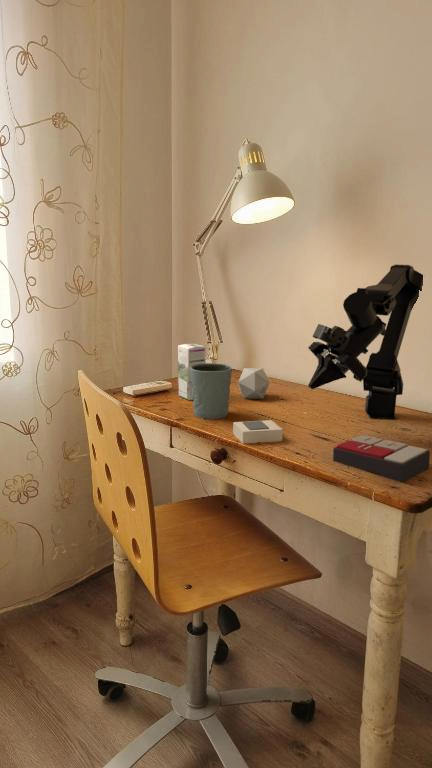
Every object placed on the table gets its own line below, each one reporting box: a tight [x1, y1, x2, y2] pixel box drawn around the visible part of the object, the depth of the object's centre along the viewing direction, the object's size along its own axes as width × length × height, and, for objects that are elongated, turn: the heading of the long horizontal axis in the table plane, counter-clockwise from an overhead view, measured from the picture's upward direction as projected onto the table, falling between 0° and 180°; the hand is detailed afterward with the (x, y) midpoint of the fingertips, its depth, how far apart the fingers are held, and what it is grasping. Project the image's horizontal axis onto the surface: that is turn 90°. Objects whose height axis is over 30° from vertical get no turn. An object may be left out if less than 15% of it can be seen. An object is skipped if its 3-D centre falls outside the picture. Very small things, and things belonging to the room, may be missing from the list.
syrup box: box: [177, 343, 206, 401], centre depth 158 cm, size 6×6×14 cm
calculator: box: [332, 434, 431, 483], centre depth 113 cm, size 11×4×15 cm
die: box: [237, 367, 271, 400], centre depth 160 cm, size 8×9×10 cm
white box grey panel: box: [232, 419, 283, 445], centre depth 127 cm, size 3×7×9 cm
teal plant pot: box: [190, 362, 233, 420], centre depth 143 cm, size 10×10×12 cm
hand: (310, 387), depth 128 cm, fingers closed
